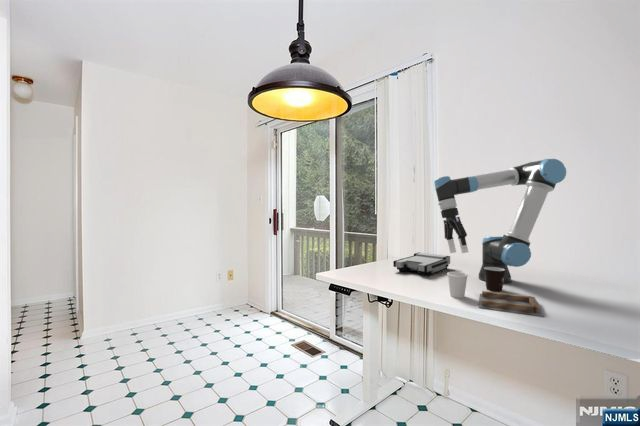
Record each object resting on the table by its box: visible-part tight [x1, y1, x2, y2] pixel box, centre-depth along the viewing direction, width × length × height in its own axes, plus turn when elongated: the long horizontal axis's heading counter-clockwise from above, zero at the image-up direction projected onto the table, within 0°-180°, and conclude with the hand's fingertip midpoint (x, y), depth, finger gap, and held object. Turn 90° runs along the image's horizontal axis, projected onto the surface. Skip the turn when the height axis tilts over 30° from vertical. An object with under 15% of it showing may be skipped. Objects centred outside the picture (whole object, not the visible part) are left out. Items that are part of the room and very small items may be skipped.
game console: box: [392, 252, 451, 277], centre depth 188 cm, size 21×32×8 cm, turn 136°
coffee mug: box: [484, 267, 505, 293], centre depth 147 cm, size 12×9×10 cm
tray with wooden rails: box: [478, 290, 545, 318], centre depth 126 cm, size 21×20×2 cm
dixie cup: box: [446, 271, 469, 299], centre depth 137 cm, size 8×8×10 cm
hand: (459, 252), depth 146 cm, fingers open, 13 cm apart
